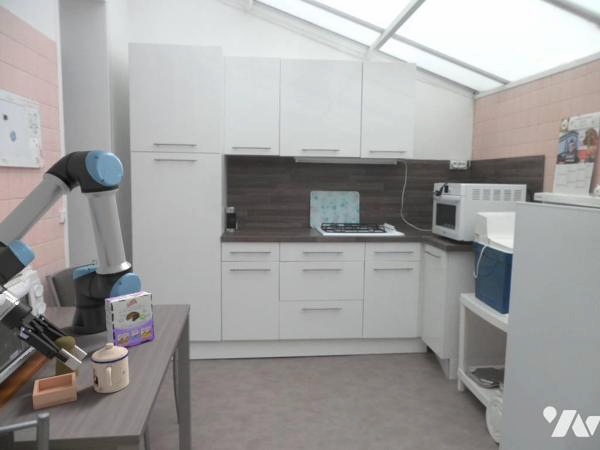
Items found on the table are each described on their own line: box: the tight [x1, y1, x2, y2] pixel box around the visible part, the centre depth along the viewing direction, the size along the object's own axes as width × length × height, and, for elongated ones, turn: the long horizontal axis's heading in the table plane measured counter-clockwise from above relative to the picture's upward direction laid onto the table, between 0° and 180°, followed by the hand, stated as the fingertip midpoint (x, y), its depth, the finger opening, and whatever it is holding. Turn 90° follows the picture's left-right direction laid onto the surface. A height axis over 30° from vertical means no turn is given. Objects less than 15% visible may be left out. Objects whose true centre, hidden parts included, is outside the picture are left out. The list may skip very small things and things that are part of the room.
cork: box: [54, 335, 80, 377], centre depth 120 cm, size 6×6×11 cm
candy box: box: [105, 290, 155, 349], centre depth 142 cm, size 14×6×16 cm, turn 134°
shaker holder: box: [32, 372, 78, 411], centre depth 109 cm, size 9×9×4 cm
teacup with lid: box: [90, 342, 130, 394], centre depth 112 cm, size 12×9×12 cm
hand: (80, 361), depth 121 cm, fingers closed on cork, 5 cm apart
